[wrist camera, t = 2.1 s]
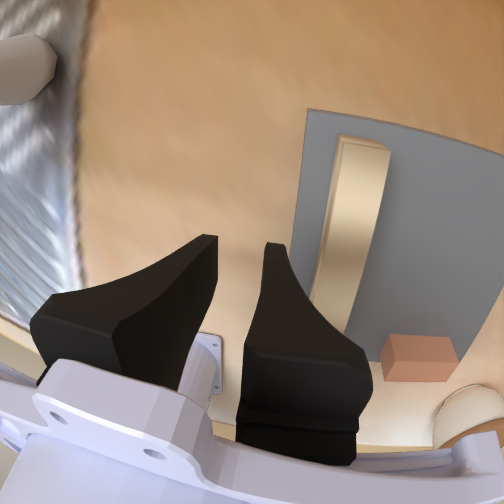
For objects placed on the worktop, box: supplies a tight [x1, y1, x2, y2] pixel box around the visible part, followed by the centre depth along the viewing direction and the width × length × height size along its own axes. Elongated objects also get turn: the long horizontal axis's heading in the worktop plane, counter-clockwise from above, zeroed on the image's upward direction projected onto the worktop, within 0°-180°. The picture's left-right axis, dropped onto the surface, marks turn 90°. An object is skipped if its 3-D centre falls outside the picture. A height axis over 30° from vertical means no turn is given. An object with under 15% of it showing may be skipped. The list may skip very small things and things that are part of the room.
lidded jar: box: [432, 384, 504, 450], centre depth 27 cm, size 11×11×9 cm
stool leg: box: [309, 133, 391, 334], centre depth 19 cm, size 14×3×3 cm, turn 176°
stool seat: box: [289, 108, 504, 382], centre depth 20 cm, size 19×18×5 cm
